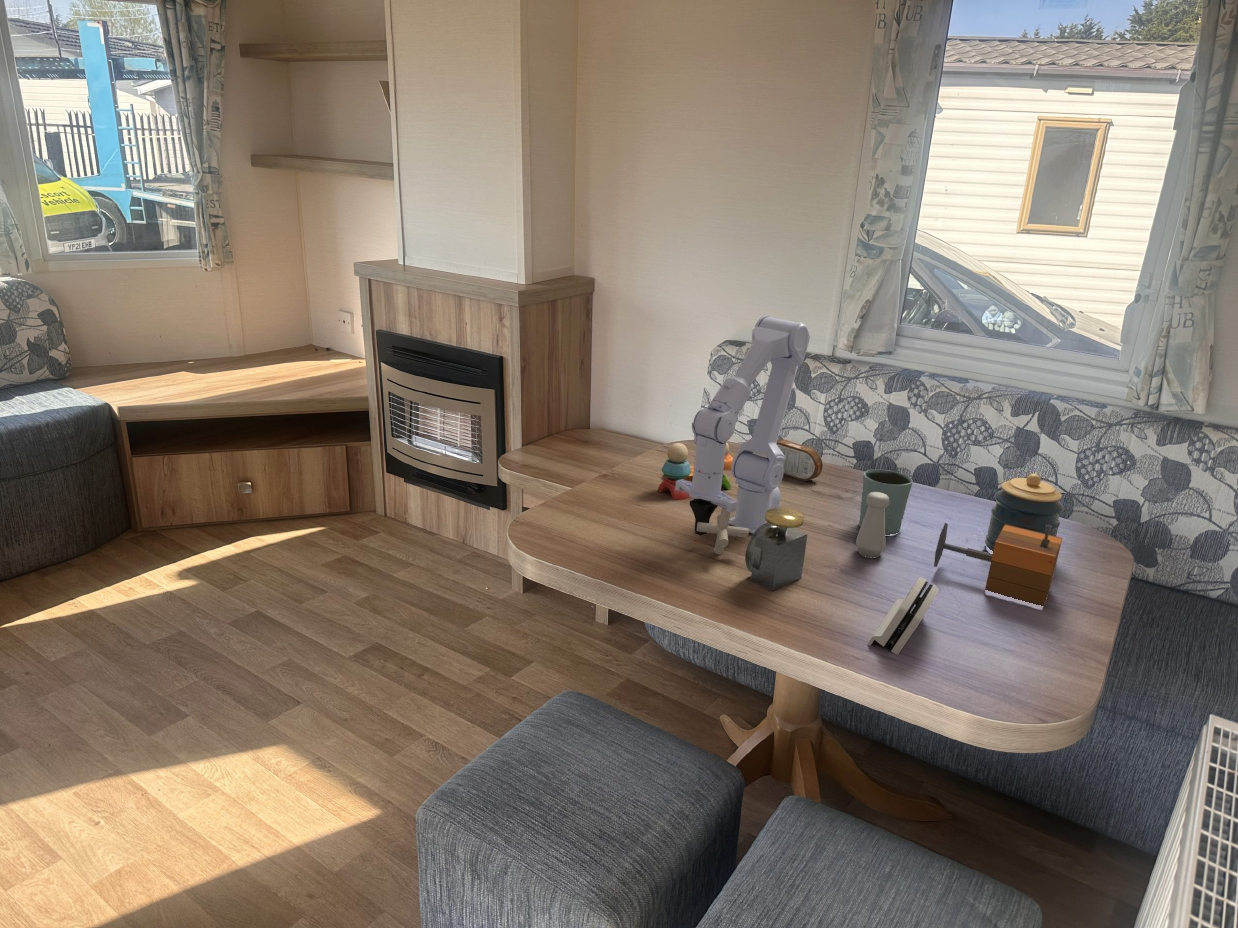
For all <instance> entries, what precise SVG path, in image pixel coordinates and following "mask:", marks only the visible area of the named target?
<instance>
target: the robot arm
mask: <svg viewBox="0 0 1238 928" xmlns="http://www.w3.org/2000/svg"><path fill="white" fill-rule="evenodd" d="M810 339H811V336H810V332H809V329H808V326H807V325H806V323H804V322H801V321H800V322H796V321H792V320H787V319H781V318H776V317H771V316H769V315H763V316H761V317H760V318H759V319H758V320H757V321H756V324H755V325H754V328H753V329H752V332H751V343H752V344H751V345H750V346H749V349H748V351H747V353H746V355H745V357H744V359H742V362H741V364H740V366H739V368H738V369H737V371H736V373H735V375H734V376H733V377H727V378H725V380H724V381H723V383H722V385H721V386H720V388H719V389H718V391H717V392H716V393H715V395H714V396H713V398H712V399H711V401H710V402H709V404H708V406H707V407H703V408H701V409H699V410H698V411H697V412H696V414H695V415H694V417H693V422H691V430H692V433H693V437H694V438H693V443H694V445H695V453H694V454H695V455H694V464H693V467H694V472H693V481H692V482H690V481H686V480H683V479H681V480H678V481H676V486H675V490H677V491H683V492H686V493H688V494H689V496H690V498H692V500H689V507H690V508H691V511H692V513H693V515H694V520H695V521H694V534H695V535H698V536H700V537H701V536H705V535H707V534H708V533H707V532H699V531H697V524H698V522H702V523H710V521H711V518H712V515H713V514H714V512H715V511H716V509H717V508H718V507H720V508H721V509H722V508H725V509H726V511H728V512H731V513H732V512H735V513H734V517H732V518H731V517H730V519H729V524H728V525H729V526H733V527H741V528H749V533H750V534H752V535H753V534H754V532H755V531H756V530H757V529H758V528H759V527H760V526H761V525H763V524H765V523H768V522H767V521H766V520H765V512H766V511H767V510H768V509H772V508H780V506H781V491H780V489H779V486H780V484H781V483H782V480H783V478H784V461H785V456H784V454H783V453H782V451H781V450H780V449H779V447H778V446H777V441H778V440H779V436H780V433H781V429H782V425H783V423H784V419H785V415H786V412H787V407H788V404H789V401H790V397H791V393H792V390H793V386H794V382H795V380H796V379H795V378H796V375H797V373H798V372H797V371H798V369H799V366H801V365H803V363H804V361H805V357H806V354H807V350H808V347H809V342H810ZM769 362H770V364H771V369H770V372H769V377H768V379H767V383H766V387H765V389H764V390H765V391H764V394H763V397H762V401H761V405H760V409H759V412H758V416H757V419H756V422H755V427H754V430H753V433H752V438H750V439H748V440H746V441H744V442H742V443H741V444H739V448H738V450H737V452H736V454H735V456H734V457H733V462H732V466H731V470H730V471H731V475H732V477H733V478H734V479H735V481H734V482H735V484H737V495H736V500H735V498H732V497H730V496H729V495H728V494H726V493H725V492H724V491H722V487H721V485H722V476H723V474H724V471H723V468H724V459H725V451H726V442H727V443H728V441H730V439H731V438H732V437H733V435H734V433H735V431H736V430H735V429H736V424H737V422H738V420H739V419H738V415H739V413H740V412H741V411H742V409H743V408H744V406H745V404H746V403H747V402H748V400H749V398H750V396H752V395H751V394H752V393H751V388H750V386H751V385H752V384H753V383H754V381H755V380H756V379H757V377H758V376H759V375H760V373H762V371H763V370H764V368H765V367H767V364H769ZM758 454H759V455H758ZM767 457H768V458H769V459H768V458H767Z"/></svg>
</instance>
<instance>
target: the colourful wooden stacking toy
mask: <svg viewBox="0 0 1238 928" xmlns="http://www.w3.org/2000/svg"><path fill="white" fill-rule="evenodd" d="M688 450H689V449H688V447H686V445H685V444H683V443H680V442H676V443H675V442H674V443H673V444H671V445H670V446H669V447H668V448H667V452H666V453H667V457H668V459H666V460H665V462H664V464H663V466H662V467H661V472H662V474H663V475H665V476H666V478H665V479H664V480H662V481H661V482H660V484H659V486H658V490H657V492H659V493H662V492H666V491H670V493H671V498H672V499H673V500H674V501H682V500H683V501H684V500H688V499H691V497H690V496H689V494H688V493H686V492H683V491H677V490H675V486H676V481H678V480H681V479H683V480H686V481H690V482H692V481H693V472H694V466H693V465H690V463H689V461H688V460H687V459H688V456H689V451H688ZM729 452H730V446H729V443H728V441H727V442H726V451H725V459H724V468H723V472H724V471H726V472H727V471H732V470H731V466H732V462H733V459H734V457H733V456H732V455H730V454H729ZM731 485H732V484H731V482H730V480H729V478H728V476H726V475H725V474H724V473H723V476H722V485H721V488H723V489H726V490H731V488H732V487H731Z"/></svg>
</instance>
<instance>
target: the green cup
mask: <svg viewBox="0 0 1238 928" xmlns="http://www.w3.org/2000/svg"><path fill="white" fill-rule="evenodd" d="M862 477H863V478H862V491H861V493H862V494H861V498H860V499H861V502H860V514H859V519H858V521H859V522H858V524H859V526H858V527H859V528H860V527H861V525H862V522H863V519H864V517H865V514H866V511H867V508H868V504H867V501H866V500H867V495H868V494H869V493H871V492H880V493H884V494H886V495H887V496H888V497H889V505H888V506H887V507H886V508H885V535H890V534H896V533H898V532H899V533H900V531H901V527H902V521H903V519H904V515H905V511H906V508H907V503H908V499H909V495H910V493H911V490H912V486H913V483H914V482H913V479H912V478H911V477H910V476H909V475H907V474H904V473H903V472H902V473H901V472H898V471H893V470H889V469H868V470H866V471H864V472H863V475H862ZM899 533H898V534H899Z"/></svg>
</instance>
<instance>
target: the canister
mask: <svg viewBox="0 0 1238 928" xmlns="http://www.w3.org/2000/svg"><path fill="white" fill-rule="evenodd" d="M1041 479H1042V478H1041V477H1040V475H1038V474H1037V473H1030V474H1029V475H1027V476H1026V477H1014V478H1012V479H1010V480H1006V481H1004V482H1002V483H1001V485H1000V487H1001V490H998V491H996V492H995V494H994V496H993V497H994V499H995V500H996V501H995V504H994V506H993V507H992V508H991V510H990V511H991V513H990V514H991V516H990V519H989V520H990V521H989V524H988V529H987V534H986V535H985V539H984V544H986V546H987V547H988V548H989V549H990V550H992V551H993V550H994V546H995V542H996V540H997V538H998V536H999V534H1000V533H1001V531H1002V529H1003V527H1004V526H1005V524H1007V525H1011V526H1015V527H1019V528H1023V529H1027V530H1032V531H1036V532H1040V533H1044V534H1045V533H1046V531H1045V528H1046V525H1050V526H1052V528H1051V531H1050V532H1049V535H1052V536H1057V534H1058V529H1059V527H1060V525H1061V521H1060V520H1059V519H1060V517H1059V516H1060V514H1061V513H1063V511H1064V505H1063V504H1062V503H1061V502H1060V500H1061V499H1062V497H1063V496H1062V495H1063V494H1062V493H1060V491H1059V490H1057V489H1056V488H1055V486H1053V485H1051V484H1050V483H1048V482H1045V481H1042V480H1041Z"/></svg>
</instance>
